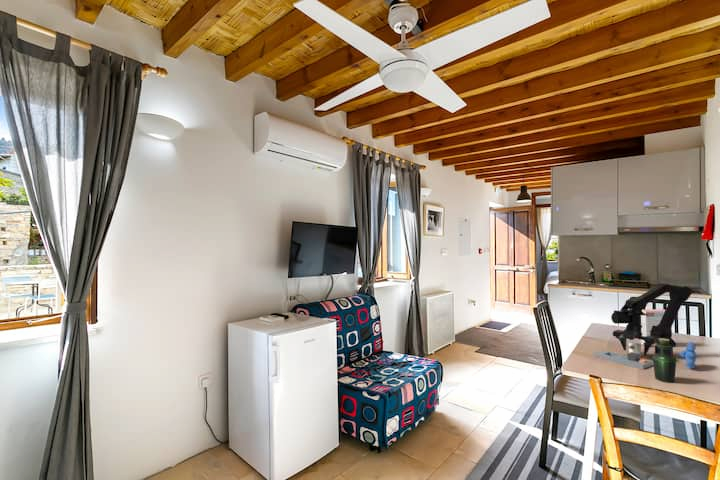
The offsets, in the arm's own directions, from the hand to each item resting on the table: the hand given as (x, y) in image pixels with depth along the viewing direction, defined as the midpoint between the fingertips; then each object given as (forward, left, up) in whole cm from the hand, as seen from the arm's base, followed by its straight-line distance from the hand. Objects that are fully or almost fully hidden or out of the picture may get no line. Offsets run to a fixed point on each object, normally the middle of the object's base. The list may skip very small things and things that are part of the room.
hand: (634, 352), depth 190 cm
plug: (0, 0, -2) cm, 2 cm away
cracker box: (+3, -32, -2) cm, 32 cm away
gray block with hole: (0, +13, -2) cm, 13 cm away
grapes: (-21, -3, -2) cm, 21 cm away
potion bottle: (-22, +25, -2) cm, 33 cm away
